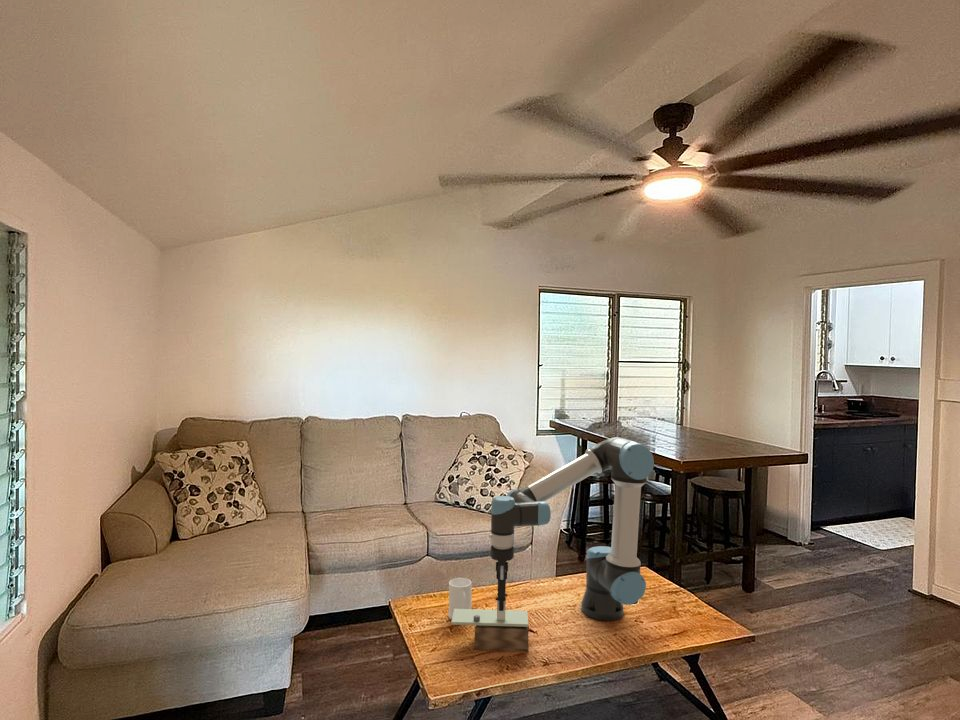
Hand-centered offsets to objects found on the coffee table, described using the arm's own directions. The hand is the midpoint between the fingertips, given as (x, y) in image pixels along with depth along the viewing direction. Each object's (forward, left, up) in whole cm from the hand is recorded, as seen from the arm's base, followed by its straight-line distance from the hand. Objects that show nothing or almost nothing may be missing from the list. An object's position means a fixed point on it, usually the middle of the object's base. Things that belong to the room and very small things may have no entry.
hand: (501, 618), depth 171 cm
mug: (+14, -18, -9) cm, 24 cm away
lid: (+4, -2, -2) cm, 4 cm away
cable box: (0, -2, -9) cm, 9 cm away
